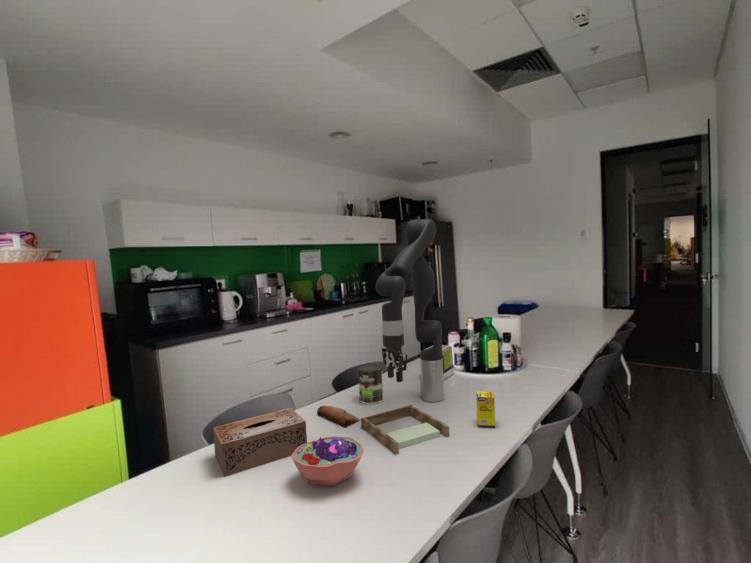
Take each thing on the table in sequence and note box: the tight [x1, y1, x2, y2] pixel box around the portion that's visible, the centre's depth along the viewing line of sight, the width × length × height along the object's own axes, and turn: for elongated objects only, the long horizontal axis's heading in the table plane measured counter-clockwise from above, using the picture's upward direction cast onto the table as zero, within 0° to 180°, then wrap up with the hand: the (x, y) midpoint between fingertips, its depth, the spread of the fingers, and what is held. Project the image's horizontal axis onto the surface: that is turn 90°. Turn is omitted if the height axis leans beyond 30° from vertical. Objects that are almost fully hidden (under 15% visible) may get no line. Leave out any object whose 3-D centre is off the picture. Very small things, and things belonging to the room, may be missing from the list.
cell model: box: [290, 436, 365, 487], centre depth 111 cm, size 17×20×11 cm
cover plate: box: [385, 422, 441, 450], centre depth 133 cm, size 8×16×2 cm, turn 116°
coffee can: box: [357, 364, 384, 405], centre depth 169 cm, size 10×10×14 cm
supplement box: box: [475, 390, 496, 429], centre depth 140 cm, size 6×6×11 cm
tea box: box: [426, 344, 454, 382], centre depth 195 cm, size 15×10×15 cm
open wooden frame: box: [360, 404, 450, 455], centre depth 138 cm, size 23×22×4 cm
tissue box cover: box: [212, 407, 308, 478], centre depth 127 cm, size 26×14×10 cm, turn 121°
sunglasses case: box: [316, 405, 361, 428], centre depth 152 cm, size 18×7×7 cm, turn 43°
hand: (395, 379), depth 140 cm, fingers open, 5 cm apart
